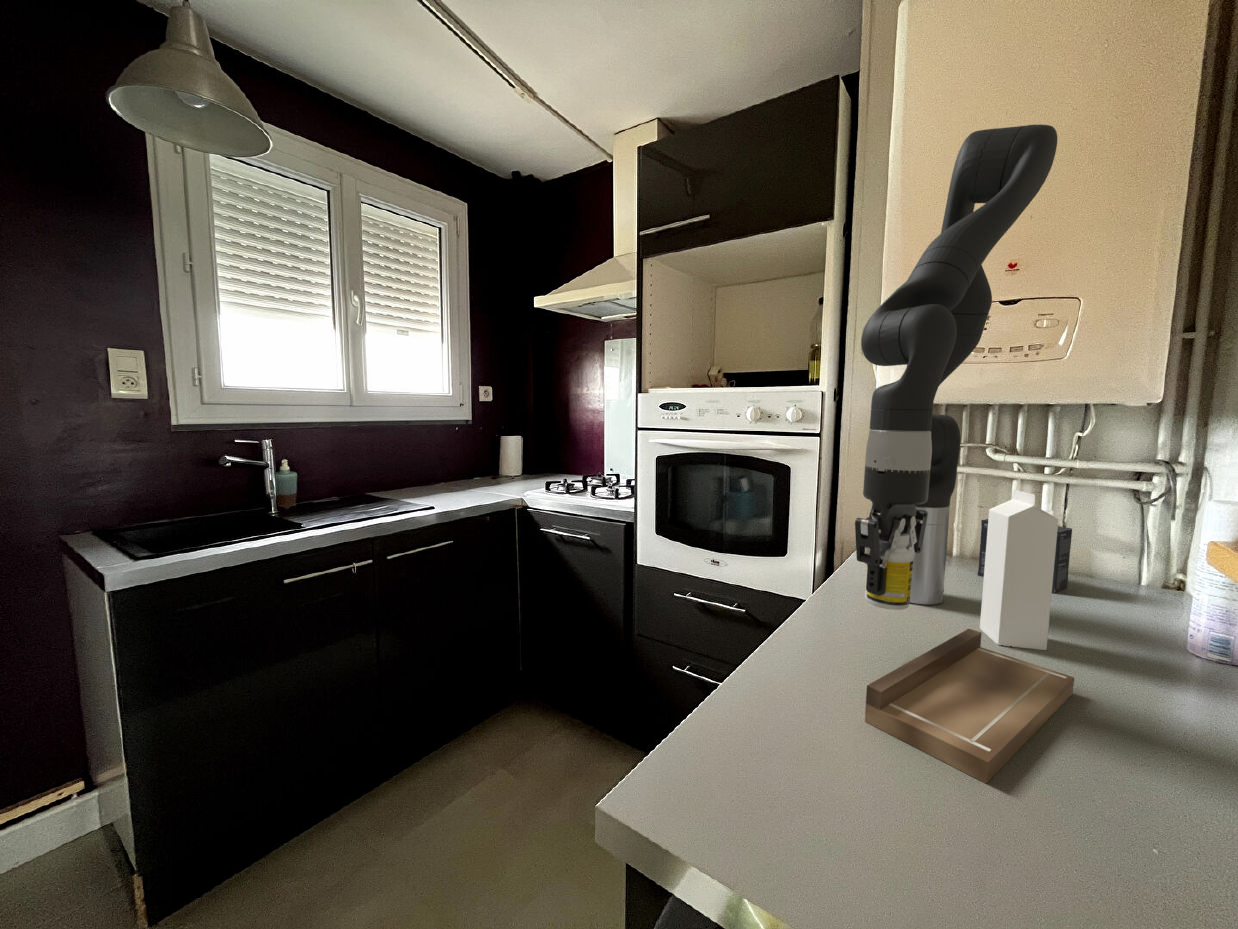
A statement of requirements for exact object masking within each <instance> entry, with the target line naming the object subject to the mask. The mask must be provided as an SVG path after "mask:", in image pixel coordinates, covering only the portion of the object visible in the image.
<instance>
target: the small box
mask: <svg viewBox="0 0 1238 929" xmlns="http://www.w3.org/2000/svg"><path fill="white" fill-rule="evenodd" d="M980 522H981V529H980V542H979V543H980V544H979V554H978V555H979V556H978V557H979V558H978V570H977V576H978V577H982V578H984V568H985V556H986V543H987V530H988V518H986V519H982V520H981V521H980ZM1072 536H1073V528H1072V527H1071V528H1070V527H1066V526H1059V525H1058V530H1057V541H1056V551H1055V562H1054V573H1053V584H1052V593H1054V594H1055V593H1057V592H1059V591H1063V590H1065V589H1067V588H1068V581H1069V566H1070V558H1071V549H1072V548H1071V547H1072V546H1071V545H1072Z"/></svg>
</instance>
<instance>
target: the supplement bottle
mask: <svg viewBox="0 0 1238 929" xmlns="http://www.w3.org/2000/svg"><path fill="white" fill-rule="evenodd" d="M879 542H881V543H888V542H887V541H883V540H879ZM908 544H909V534H907V533H905V534H901V535H900V536H899V539H898V543H897V546H896V550H895V551H894V552H891V553H890V556H889V559H888V563H887V566H886V568H887V575H886V588H885V594H883V595H881V596H878V595H875V594H872V593H869V592H868V591H867V590H866V583H864V584H865V585H864V586H865V587H864V600H865V601H866V602H867V603H869V604H870V605H873V606H875V607H876V608H880V609H884V610H892V611H893V610H894V611H895V610H896V611H901V610H902V611H903V610H906V609H908V608H909V606H910V592H911V581H912V570H913V554H912V553H911V551H909V550H908V549H906V546H908ZM881 553H882V549H880V557H881ZM865 572H866V574H865V582H866V581H867V571H865Z"/></svg>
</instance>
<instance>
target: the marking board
mask: <svg viewBox="0 0 1238 929" xmlns="http://www.w3.org/2000/svg"><path fill="white" fill-rule="evenodd" d="M982 632H983V631H981V632H980V631H978V630H974V629H971V628H967V629H965V630H964V631H961V632H960V633H958V634H956V635H955V636H953V637H951V638H949V639H948V640H946V641H943V642H942V643H941V644H938V645H937V646H935V647H933V648H932V649H930V650H928V651H926V652H924V653H923V654H921V655H918V656H917V657H915V658H913V659H912V660H910V661H908V662H906V663H905V664H903V665H901V666H899V667H897V668H896V669H894V670H892V671H891V672H888V673H887V674H885V675H883V676H881V677H879V678H878V679H876V680H874V681H873V682H870V683H869V684H867V685H866V694H865V712H864V722H865V723H867V724H869V725H871V726H873V727H875V728H877V729H879V730H881V731H883V732H884V733H886V734H888V735H891V736H892V737H894V738H897V739H898V740H900V741H903V742H904V743H906V744H908V745H910V746H913V747H914V748H916V749H918V750H920V751H922V752H924V753H926V754H927V755H929V756H932V757H933V758H936V759H937V760H939V761H941V762H943V763H946V764H947V765H949V766H951V767H953V768H955V769H957V770H959V771H961V772H963V773H965V774H966V775H969V776H971V777H973V778H975V779H977V780H979V781H980V782H982V783H985V784H988V783H989V782H990V780H991V779H993V778H994V777H995V775H996V774H997V773H998V772H999V771H1000V770H1001V769H1002V768H1003V767H1004V766H1006V764H1007V763H1008V762H1009V761H1010V760H1011V759H1012V757H1013V756H1015V754H1016V753H1017V752H1019V750H1021V749H1022V747H1023V746H1024V745H1025V744H1026V743H1027V742H1028V741H1029V740H1030V739H1032V737H1033V736H1034V735H1035V734H1036V732H1037V731H1038V730H1039V729H1040V728H1041V727H1042V726H1043V725H1044V724H1046V723H1047V722H1048V720H1049V719H1050V718H1051V717H1052V716H1053V715H1054V713H1056V712H1057V710H1059V709H1060V707H1062V706H1063V704H1065V703H1066V702H1067V701H1068V699H1069V698H1070V697H1071V696H1072V695H1073V694H1074V687H1075V686H1074V685H1075V677H1074V676H1071V675H1068V674H1065V673H1062V672H1059V671H1056V670H1053V669H1050V668H1046V667H1044V666H1043V667H1042V666H1040V665H1037V664H1034V663H1032V662H1031V663H1030V662H1028V661H1025V660H1022V659H1019V658H1016V657H1014V656H1013V657H1012V656H1009V655H1006V654H1003V653H1000V652H998V651H994V650H991V649H989V648H985V647H982V646H981V644H982V634H983V633H982Z"/></svg>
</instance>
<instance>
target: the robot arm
mask: <svg viewBox="0 0 1238 929" xmlns="http://www.w3.org/2000/svg"><path fill="white" fill-rule="evenodd" d="M1057 147H1058V132H1057V130H1056V129H1055V128H1054V126H1052V125H1049V124H1027V125H1018V126H1017V125H1016V126H1009V127H999V128H998V127H997V128H990V129H989V128H988V129H981V130H976V131H973V132H971V133H970V134H969V135H968V136H966V138H965V139H964V141H963V143H962V145H961V147H960V148H959V151H958V153H957V156H956V159H955V162H954V165H953V170H952V174H951V178H950V184H949V189H948V193H947V197H946V198H947V199H946V203H945V204H946V205H945V210H944V216H943V219H942V226H941V231H940V233H939V235H938V236H937V237H935V238H934V240H932V241H931V242H930V243H929V244H928V246H927V247H926V249H925V250H924V251H923V252H922V255H921V256H920V258H919V259H918V261H917V263H916V265H915V266H914V268H913V269H912V271H911V274H910V275H909V276H908V279H907V280H906V281H905V282H904V283H902V285H900V286H899V287H898V288H896V289H895V291H893V292H892V293H891V294H890V296H889V297H887V298H886V300H884V301H883V302H882V303H881V304H880V306H879V307H877V309H876V310H875V311H874V312H873V313H872V315H871V316H870V317H869V318H868V320H867V322H866V323H865V326H864V328H863V331H862V335H861V339H860V340H861V342H860V344H861V345H860V346H861V352H862V353H863V356H864V358H865V359H866V360H867V361H868V362H869V363H871V364H872V365H875V366H879V367H880V366H881V367H892V366H893V367H894V366H903V365H904V366H905V365H906V368H905V369H904V371H903V373H902V375H901V376H900V378H899V379H897V380H896V381H893V382H891V383H887V384H884V385H880V386H878V387H877V388H875V389H874V391H873V393H872V396H871V404H870V407H871V408H870V419H869V420H870V421H869V431H868V436H867V437H868V438H867V442H866V447H865V448H866V449H865V459H864V474H863V475H864V477H863V489H862V495H863V497H864V498H865V499H867V500H869V501H871V503H872V505H871V509H870V510H869V514H868V517H866V518H863V517H857V518H856V519H855V521H854V530H855V549H856V550H855V551H856V554H855V555H856V561H857V562H860V563H864V564H865V565H866V572H867V581H866V580H865V584H866V590H867V591H868V592H869V593H872V594H875V595H878V596H881V595H883V594H885V588H886V575H887V568H886V566H887V563H888V559H889V556H890V553H891V552H894V551H895V550H896V546H897V543H898V539H899V536H900V535H901V534H905V533H907V534H909V544H908V546H906V549H908V550H909V551H911V553H912V554H913V570H912V581H911V592H910V603H911V604H917V605H939V604H941V603H943V601H944V592H945V579H946V578H945V577H946V576H945V575H946V563H947V562H946V561H947V549H948V534H949V519H950V505H951V499H952V498H951V497H952V495H953V493H954V491H955V488H956V483H957V482H956V480H957V471H958V466H959V459H960V452H961V438H962V437H961V431H960V427H959V425H958V423H957V420H956V419H955V418H953V416H950V415H949V414H948V415H947V414H937V413H936V414H933V412H934V402H935V398H936V394H937V392H938V390H939V386H941V385H942V383H943V382H944V381H945V380H946V379H947V378H948V377H949V376H950V375H952V373H953V372H955V371H956V369H958V368H959V367H960V366H961V365H962V364H963V363H964V362H965V360H967V358H968V357H969V356H970V355H971V354H972V352H973V351H974V350H975V349H976V348H977V346H978V345H979V343H980V341H981V338H982V335H983V333H984V329H985V326H986V323H987V320H988V317H989V313H990V310H991V307H992V302H993V295H992V289H991V286H990V283H989V281H988V280H989V279H988V277H987V275H986V272H985V270H984V268H983V263H984V262H985V260H986V259H987V257H988V256H989V254H990V253H991V251H992V250H993V248H994V247H995V246H996V245H997V243H999V241H1000V240H1001V239H1002V237H1003V236H1005V234H1006V233H1007V232H1008V230H1010V228H1012V226H1013V225H1014V223H1015V222H1016V221H1017V220H1018V219H1019V217H1020V216H1021V215H1022V213H1023V212H1024V211H1025V210H1026V209H1027V207H1028V206H1029V205H1030V204H1031V202H1032V201H1033V200H1034V199H1035V197H1036V196H1037V194H1038V193H1039V192H1040V191H1041V188H1042V187H1043V185H1044V184H1045V182H1046V181H1047V180H1046V179H1047V178H1048V176H1049V174H1050V171H1051V170H1052V167H1053V163H1054V160H1055V157H1056V153H1057ZM976 204H983V205H981V206H980V207H979V208H977V209H975V205H976ZM879 540H883V541H887V542H888V543H881V542H879ZM880 549H882V553H881V557H880ZM910 603H909V604H910Z"/></svg>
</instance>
